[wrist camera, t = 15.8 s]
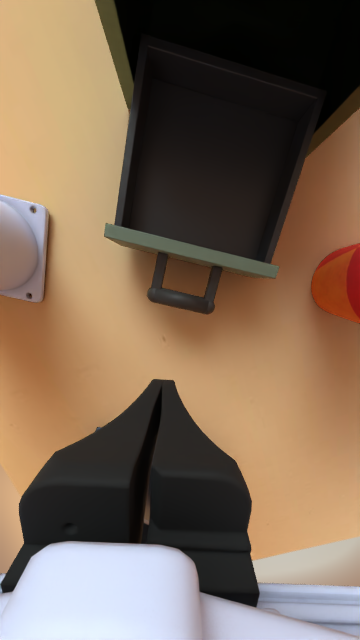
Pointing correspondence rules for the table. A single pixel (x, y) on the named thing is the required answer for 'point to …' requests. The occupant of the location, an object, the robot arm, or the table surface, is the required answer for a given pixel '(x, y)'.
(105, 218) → the table surface
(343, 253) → the coffee cup
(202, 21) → the cabinet
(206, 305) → the drawer
